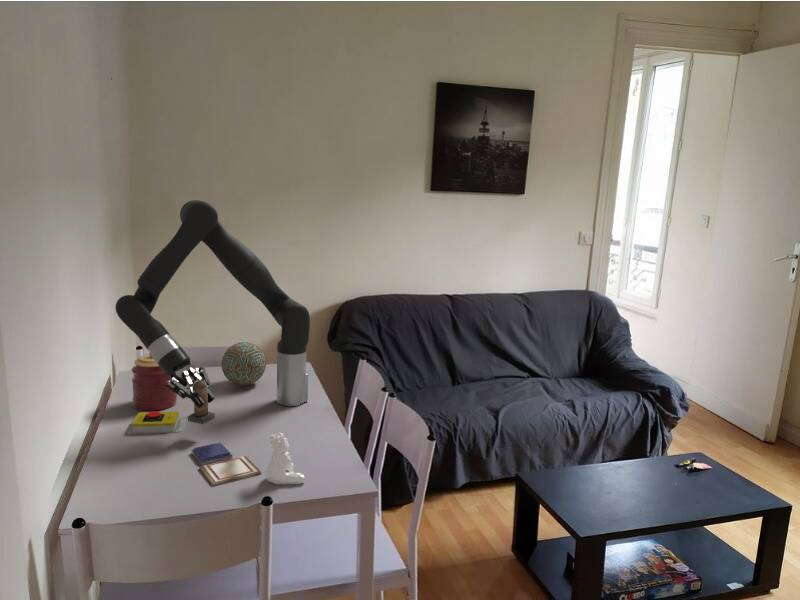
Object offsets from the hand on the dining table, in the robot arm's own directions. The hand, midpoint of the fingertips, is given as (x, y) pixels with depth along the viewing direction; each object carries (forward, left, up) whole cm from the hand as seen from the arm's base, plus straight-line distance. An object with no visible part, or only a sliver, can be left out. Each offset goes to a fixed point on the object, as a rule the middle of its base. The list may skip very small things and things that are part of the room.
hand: (207, 403), depth 166 cm
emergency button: (+9, -15, -11) cm, 21 cm away
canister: (+5, -34, -11) cm, 36 cm away
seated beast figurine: (-8, +31, -11) cm, 34 cm away
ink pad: (+2, +10, -11) cm, 15 cm away
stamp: (+1, -2, -5) cm, 5 cm away
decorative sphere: (-26, -39, -11) cm, 48 cm away
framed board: (+1, +21, -11) cm, 23 cm away
